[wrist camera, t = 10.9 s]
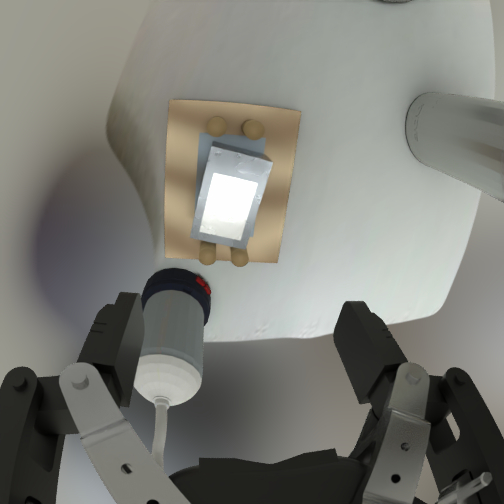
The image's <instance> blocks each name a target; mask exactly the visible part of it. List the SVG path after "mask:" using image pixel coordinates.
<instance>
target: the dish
mask: <svg viewBox="0 0 504 504" xmlns="http://www.w3.org/2000/svg"><path fill="white" fill-rule="evenodd" d="M383 1H388V2H407V1H412V0H383Z"/></svg>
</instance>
